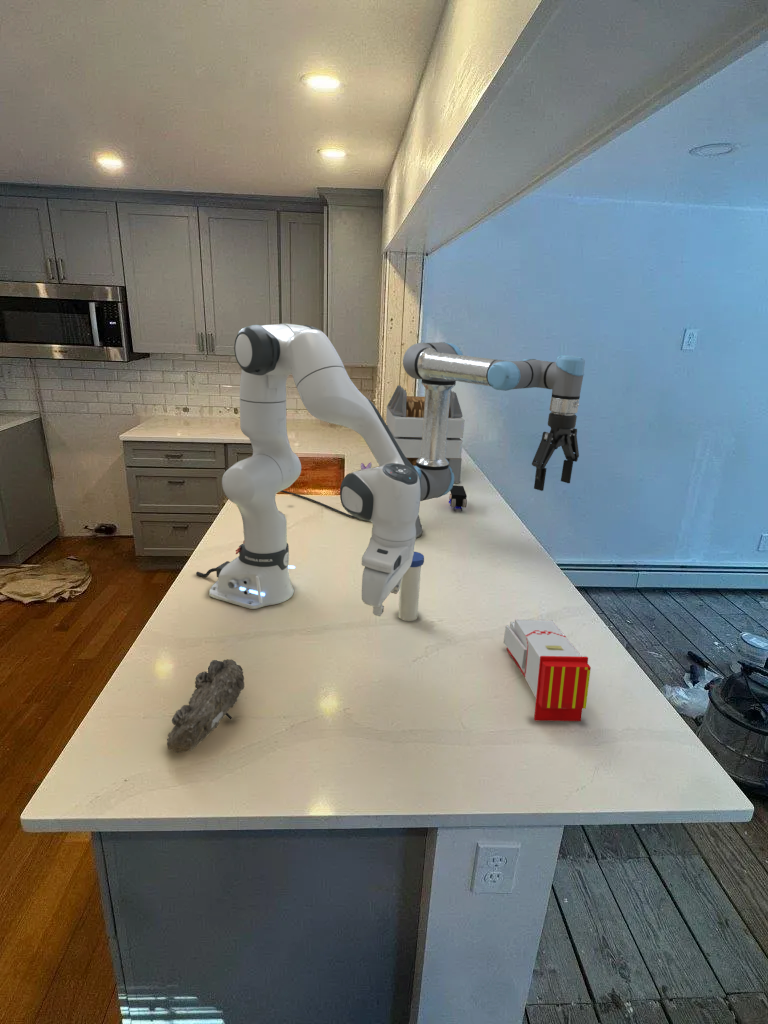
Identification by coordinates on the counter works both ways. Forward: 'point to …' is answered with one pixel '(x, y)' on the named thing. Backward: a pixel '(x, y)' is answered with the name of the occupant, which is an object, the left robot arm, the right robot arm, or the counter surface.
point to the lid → (417, 559)
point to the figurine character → (458, 497)
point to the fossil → (206, 705)
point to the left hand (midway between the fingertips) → (386, 602)
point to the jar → (409, 594)
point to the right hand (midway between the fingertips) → (552, 485)
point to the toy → (549, 668)
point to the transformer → (408, 427)
